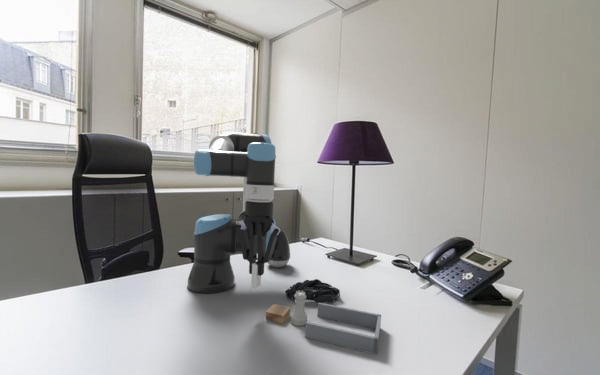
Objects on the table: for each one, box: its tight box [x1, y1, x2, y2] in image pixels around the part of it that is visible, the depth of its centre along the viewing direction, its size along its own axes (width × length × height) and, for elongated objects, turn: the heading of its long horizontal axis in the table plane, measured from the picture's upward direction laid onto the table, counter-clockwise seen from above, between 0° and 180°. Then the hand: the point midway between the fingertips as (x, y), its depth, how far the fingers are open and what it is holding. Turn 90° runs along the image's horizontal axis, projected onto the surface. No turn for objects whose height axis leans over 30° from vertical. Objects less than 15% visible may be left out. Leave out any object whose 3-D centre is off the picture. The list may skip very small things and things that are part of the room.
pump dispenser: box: [267, 229, 291, 268], centre depth 121 cm, size 10×10×15 cm
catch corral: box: [304, 303, 382, 355], centre depth 73 cm, size 17×12×4 cm
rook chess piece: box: [290, 291, 308, 327], centre depth 77 cm, size 4×4×8 cm
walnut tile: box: [265, 303, 291, 325], centre depth 79 cm, size 5×5×2 cm
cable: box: [285, 278, 341, 304], centre depth 95 cm, size 17×14×4 cm
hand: (255, 286), depth 81 cm, fingers closed
